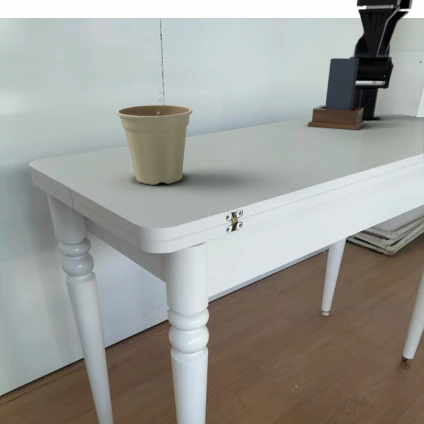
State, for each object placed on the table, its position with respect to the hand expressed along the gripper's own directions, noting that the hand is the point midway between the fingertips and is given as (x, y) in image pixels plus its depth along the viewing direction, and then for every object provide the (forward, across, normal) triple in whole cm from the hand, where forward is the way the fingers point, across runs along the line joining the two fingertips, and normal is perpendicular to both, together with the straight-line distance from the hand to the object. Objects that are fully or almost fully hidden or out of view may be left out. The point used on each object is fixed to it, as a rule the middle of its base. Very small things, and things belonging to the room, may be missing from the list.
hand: (378, 56), depth 81 cm
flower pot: (+13, -46, +18) cm, 51 cm away
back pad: (+12, +4, +7) cm, 15 cm away
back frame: (+13, +4, +7) cm, 15 cm away
